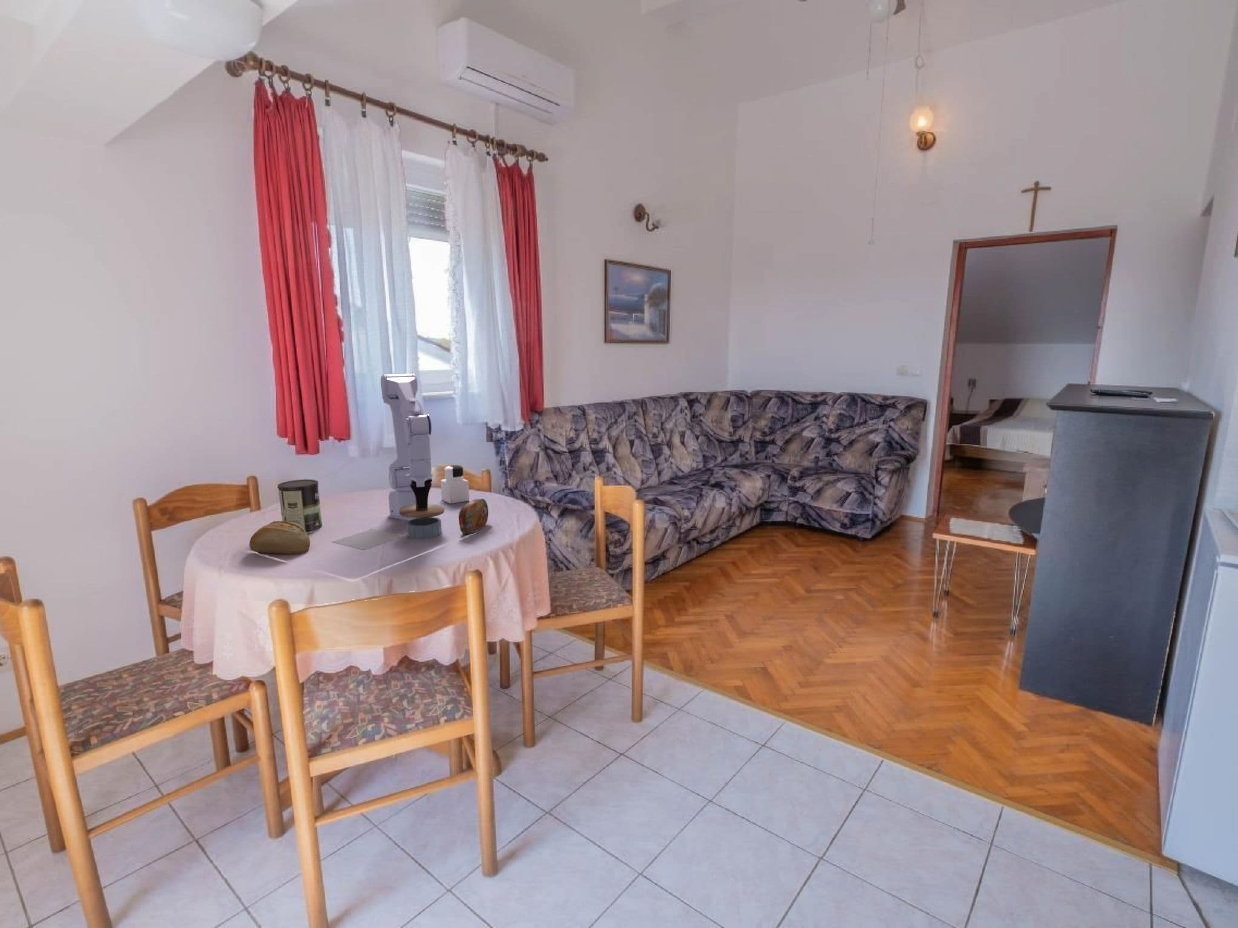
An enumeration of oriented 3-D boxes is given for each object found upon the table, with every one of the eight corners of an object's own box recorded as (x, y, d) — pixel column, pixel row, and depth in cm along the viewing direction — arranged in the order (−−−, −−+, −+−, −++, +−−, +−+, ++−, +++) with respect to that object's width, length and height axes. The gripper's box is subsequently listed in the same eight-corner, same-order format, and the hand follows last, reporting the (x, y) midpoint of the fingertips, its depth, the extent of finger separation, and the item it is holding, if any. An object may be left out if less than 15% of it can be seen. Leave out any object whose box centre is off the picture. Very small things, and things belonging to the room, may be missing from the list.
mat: (331, 543, 165) (331, 541, 165) (371, 530, 177) (371, 529, 176) (364, 551, 159) (363, 549, 159) (403, 537, 170) (403, 536, 170)
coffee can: (320, 523, 184) (316, 477, 181) (324, 532, 175) (319, 484, 172) (281, 528, 178) (276, 481, 176) (283, 538, 170) (278, 489, 167)
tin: (468, 538, 170) (466, 509, 169) (457, 537, 171) (455, 508, 169) (489, 522, 185) (488, 495, 183) (480, 522, 185) (478, 495, 184)
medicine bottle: (460, 496, 215) (459, 463, 213) (469, 500, 210) (468, 466, 207) (441, 499, 211) (439, 465, 208) (449, 504, 205) (447, 469, 203)
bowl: (400, 536, 171) (399, 523, 170) (425, 528, 179) (424, 515, 178) (424, 541, 167) (423, 527, 166) (448, 533, 175) (447, 519, 174)
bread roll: (263, 546, 164) (260, 517, 162) (319, 546, 164) (316, 517, 162) (241, 558, 154) (237, 528, 153) (301, 558, 154) (297, 528, 153)
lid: (389, 513, 169) (389, 497, 168) (422, 504, 179) (421, 489, 179) (421, 520, 163) (421, 504, 163) (453, 510, 174) (453, 495, 173)
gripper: (406, 454, 174) (409, 500, 177) (403, 464, 161) (406, 514, 163) (431, 453, 176) (434, 499, 179) (431, 463, 163) (434, 512, 165)
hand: (422, 506), depth 171 cm, fingers closed on lid, 3 cm apart
